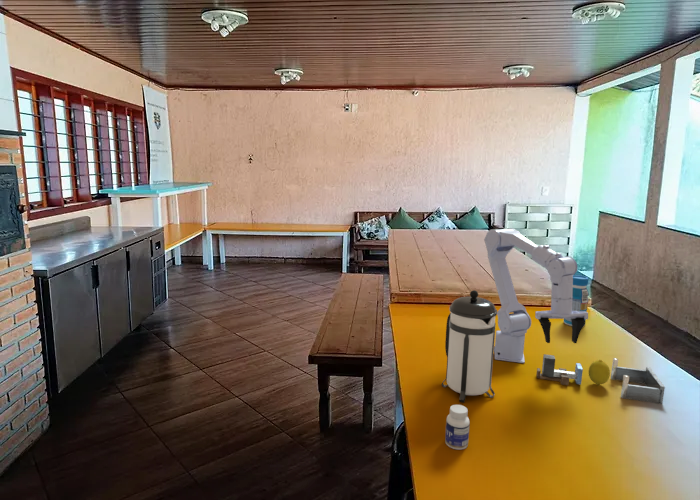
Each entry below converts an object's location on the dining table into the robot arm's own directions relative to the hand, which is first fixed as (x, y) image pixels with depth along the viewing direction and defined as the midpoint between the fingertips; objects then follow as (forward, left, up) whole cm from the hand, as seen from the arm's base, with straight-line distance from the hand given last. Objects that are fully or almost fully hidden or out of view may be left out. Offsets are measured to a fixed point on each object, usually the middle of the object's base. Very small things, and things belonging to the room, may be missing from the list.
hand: (560, 342), depth 142 cm
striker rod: (+1, 0, -12) cm, 12 cm away
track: (-1, 0, -12) cm, 12 cm away
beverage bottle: (+13, +58, -12) cm, 61 cm away
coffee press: (-27, -16, -12) cm, 33 cm away
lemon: (+11, 0, -12) cm, 17 cm away
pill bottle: (-27, -44, -12) cm, 53 cm away
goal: (+21, 0, -12) cm, 25 cm away
